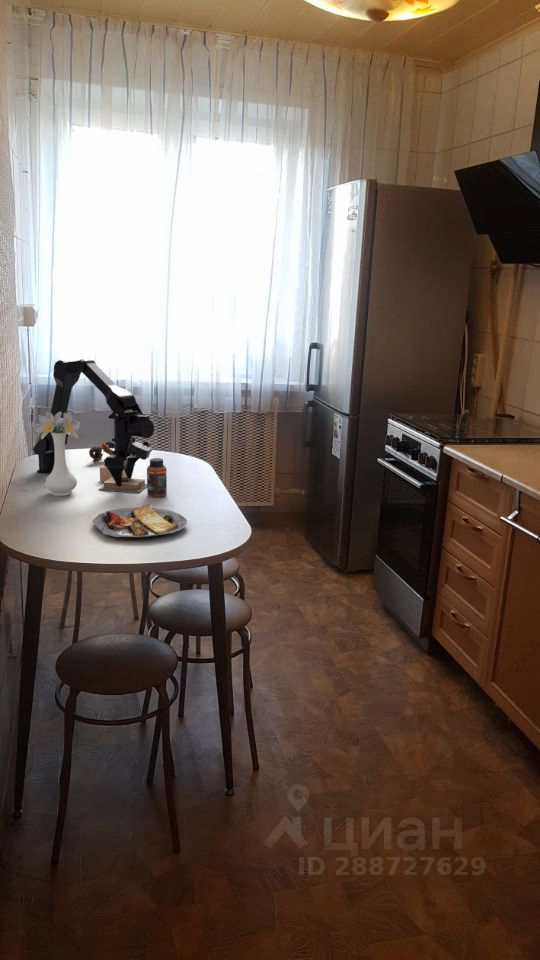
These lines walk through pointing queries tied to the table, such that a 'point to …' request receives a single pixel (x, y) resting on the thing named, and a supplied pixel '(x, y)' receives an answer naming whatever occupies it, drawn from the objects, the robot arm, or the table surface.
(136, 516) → the food plate
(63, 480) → the flower vase
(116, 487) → the lid
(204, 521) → the table surface
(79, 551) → the table surface
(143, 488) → the mat
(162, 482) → the supplement bottle
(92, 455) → the dark brown looped piece
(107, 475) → the dish
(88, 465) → the table surface
